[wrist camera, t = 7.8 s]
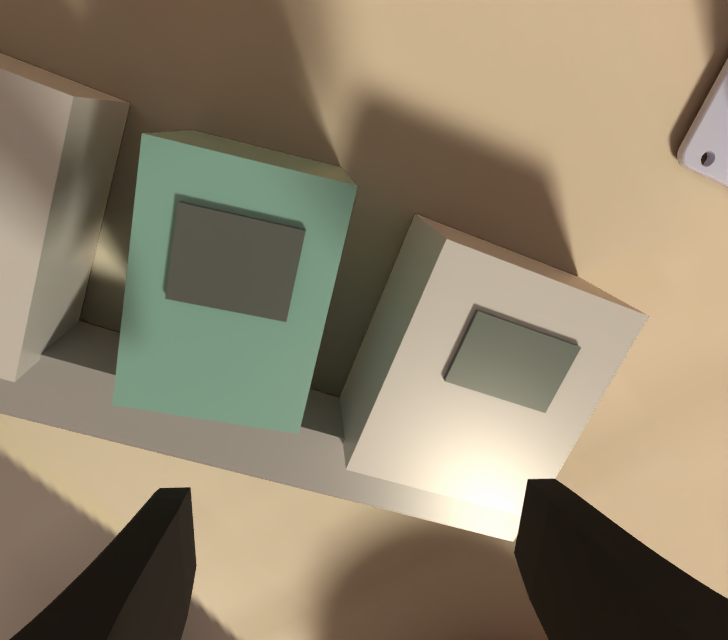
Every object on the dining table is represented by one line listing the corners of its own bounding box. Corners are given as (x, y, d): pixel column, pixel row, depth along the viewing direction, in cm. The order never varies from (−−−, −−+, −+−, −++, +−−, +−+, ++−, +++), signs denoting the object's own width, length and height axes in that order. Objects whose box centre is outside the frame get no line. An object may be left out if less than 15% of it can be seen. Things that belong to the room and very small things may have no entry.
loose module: (341, 166, 18) (358, 187, 13) (300, 349, 21) (298, 437, 15) (193, 130, 18) (139, 133, 12) (166, 325, 20) (109, 408, 14)
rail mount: (600, 285, 21) (679, 328, 17) (488, 492, 24) (530, 576, 19) (-158, -9, 15) (-344, -62, 11) (-182, 311, 18) (-337, 371, 14)
